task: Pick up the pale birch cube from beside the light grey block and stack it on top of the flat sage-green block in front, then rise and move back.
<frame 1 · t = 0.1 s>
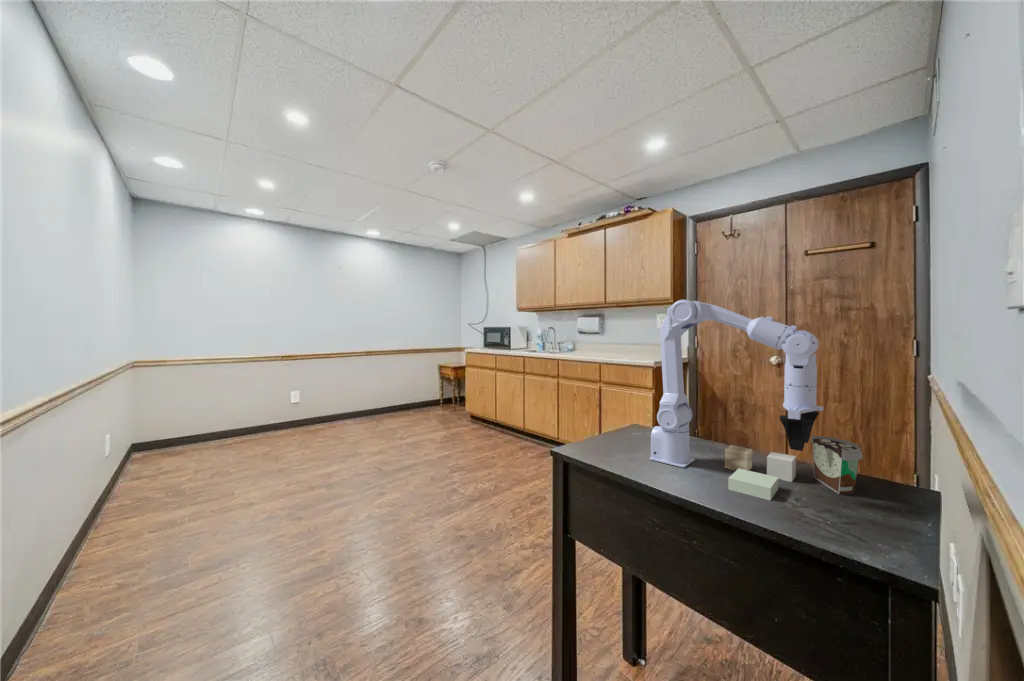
hand: (799, 445, 84), 10 cm above the table, tool pointing down, fingers open, 7 cm apart
sage block: (753, 490, 86), on the table
food container: (841, 487, 86), on the table
grey block: (781, 476, 93), on the table
birch cube: (738, 468, 98), on the table
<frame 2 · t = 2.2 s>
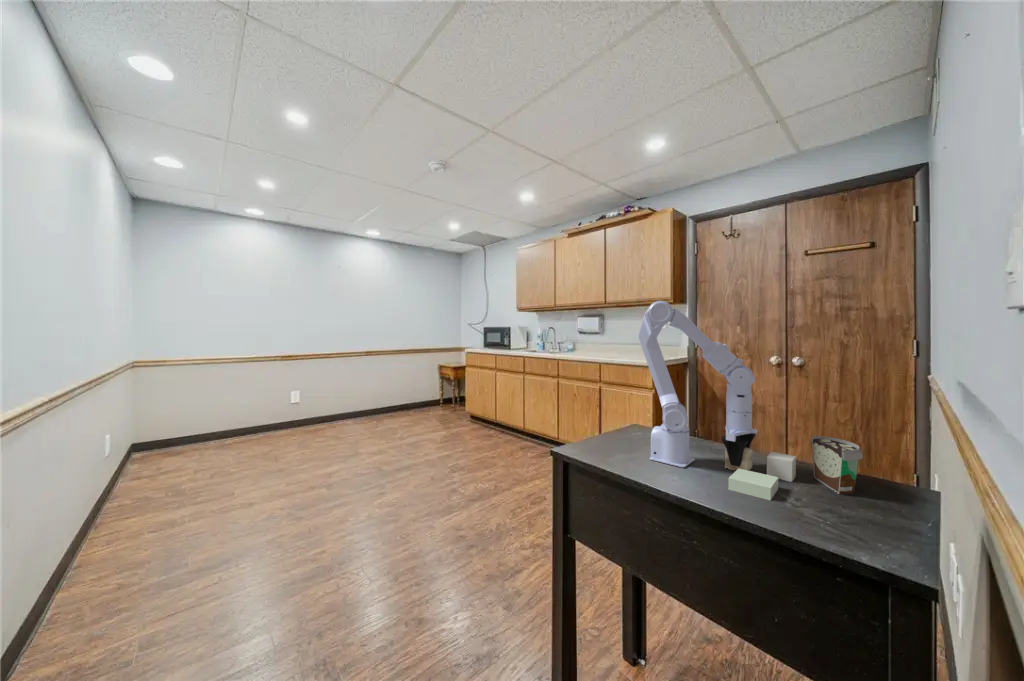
hand: (738, 462, 98), 1 cm above the table, tool pointing down, fingers closed on birch cube, 5 cm apart
birch cube: (738, 468, 98), on the table, touching gripper
everything else where it was.
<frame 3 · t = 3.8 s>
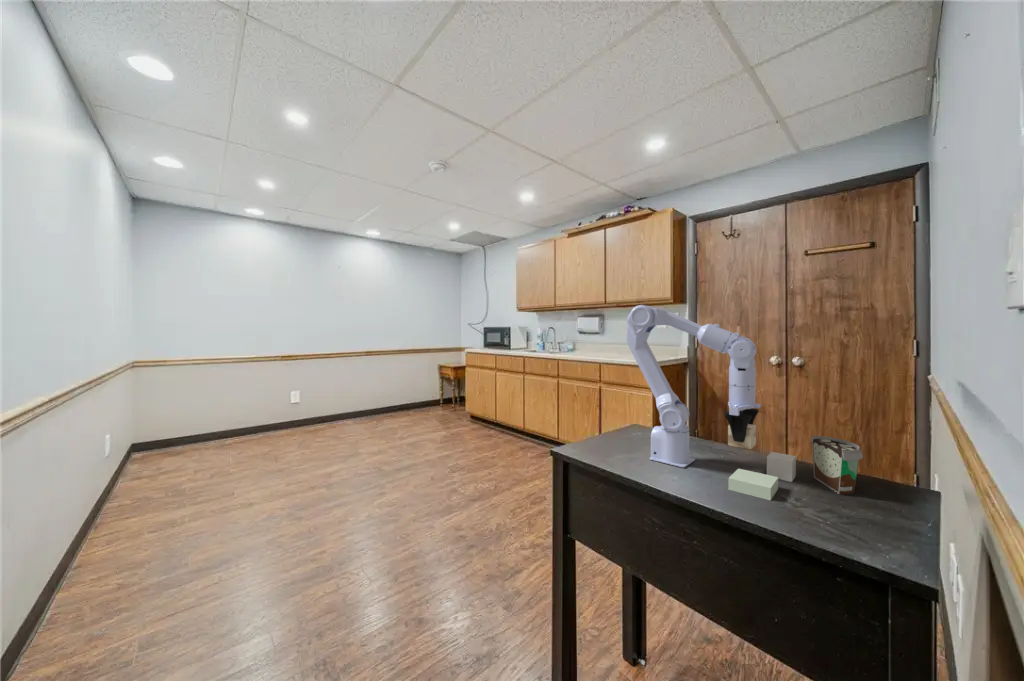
hand: (741, 439, 95), 8 cm above the table, tool pointing down, fingers closed on birch cube, 5 cm apart
birch cube: (742, 444, 95), point 7 cm above the table, touching gripper
everything else where it was.
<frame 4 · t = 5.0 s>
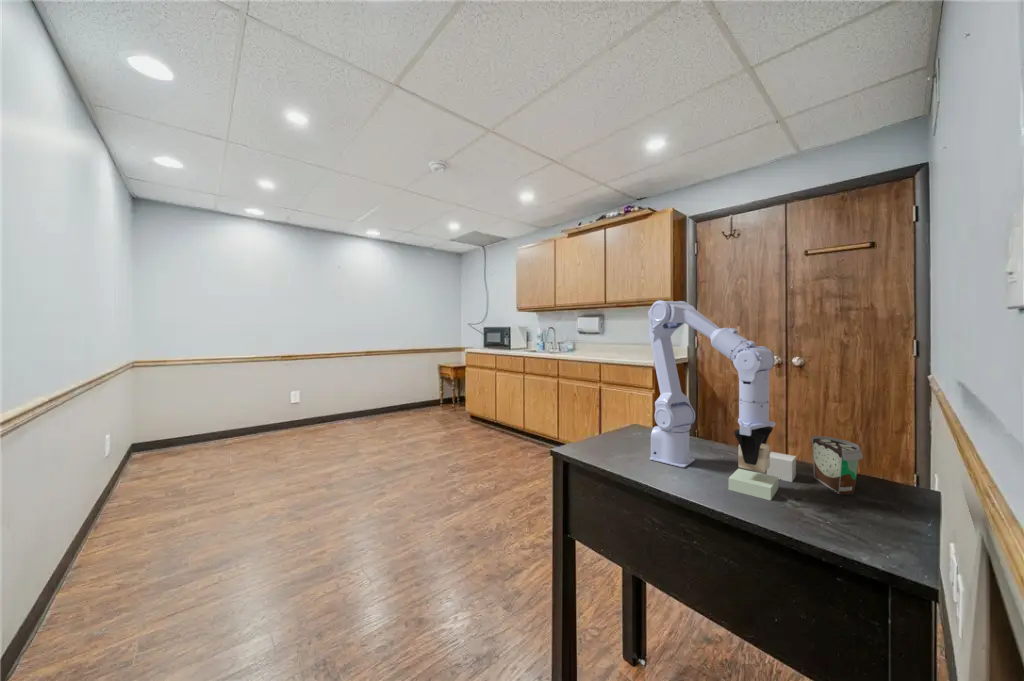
hand: (753, 460, 85), 6 cm above the table, tool pointing down, fingers closed on birch cube, 5 cm apart
birch cube: (754, 467, 85), point 5 cm above the table, touching gripper
everything else where it was.
when the fingers open (6 cm above the table, at t = 5.6 s): birch cube drops 2 cm, resting on sage block.
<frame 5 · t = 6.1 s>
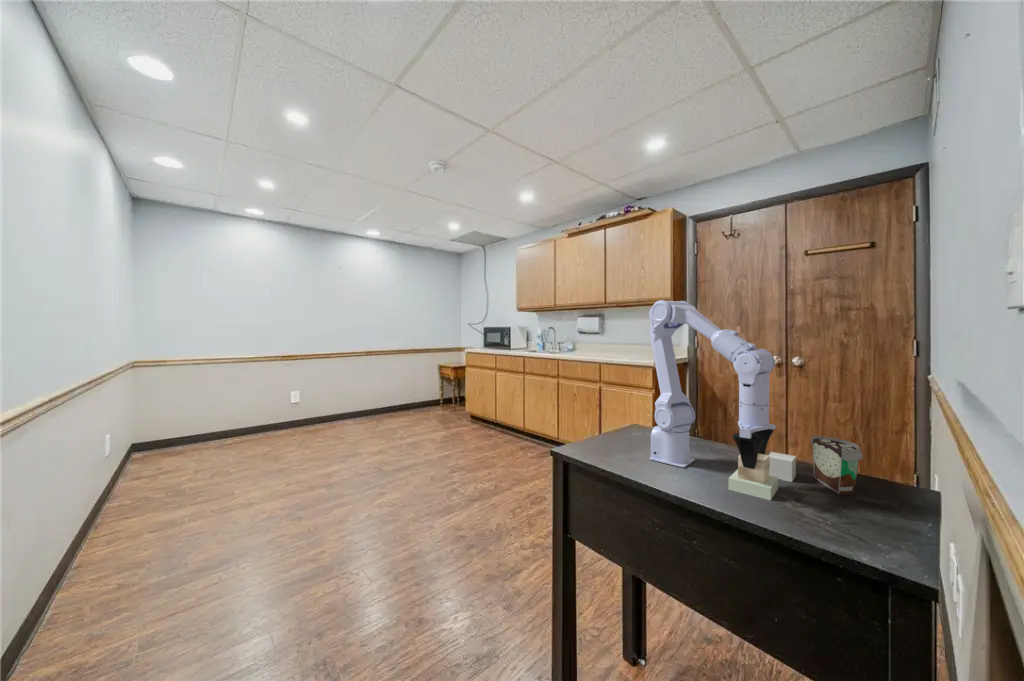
hand: (753, 463, 85), 6 cm above the table, tool pointing down, fingers open, 7 cm apart
sage block: (753, 490, 86), on the table, touching birch cube
birch cube: (753, 477, 86), point 3 cm above the table, touching sage block
everything else where it was.
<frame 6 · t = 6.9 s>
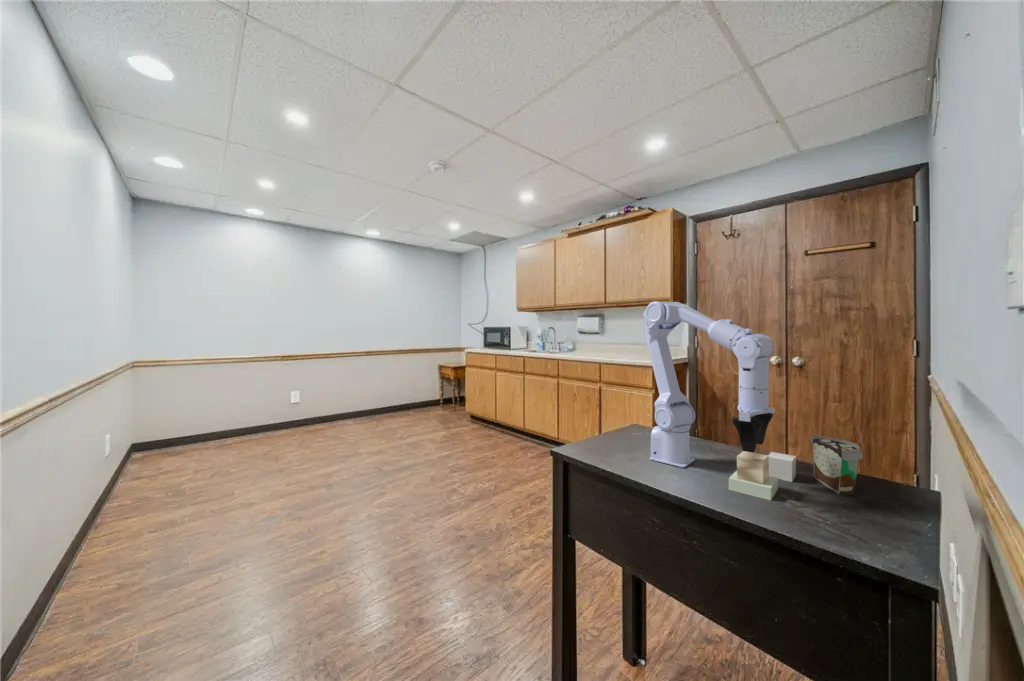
hand: (752, 447, 86), 9 cm above the table, tool pointing down, fingers open, 7 cm apart
sage block: (753, 490, 86), on the table
birch cube: (752, 477, 85), point 3 cm above the table
everything else where it was.
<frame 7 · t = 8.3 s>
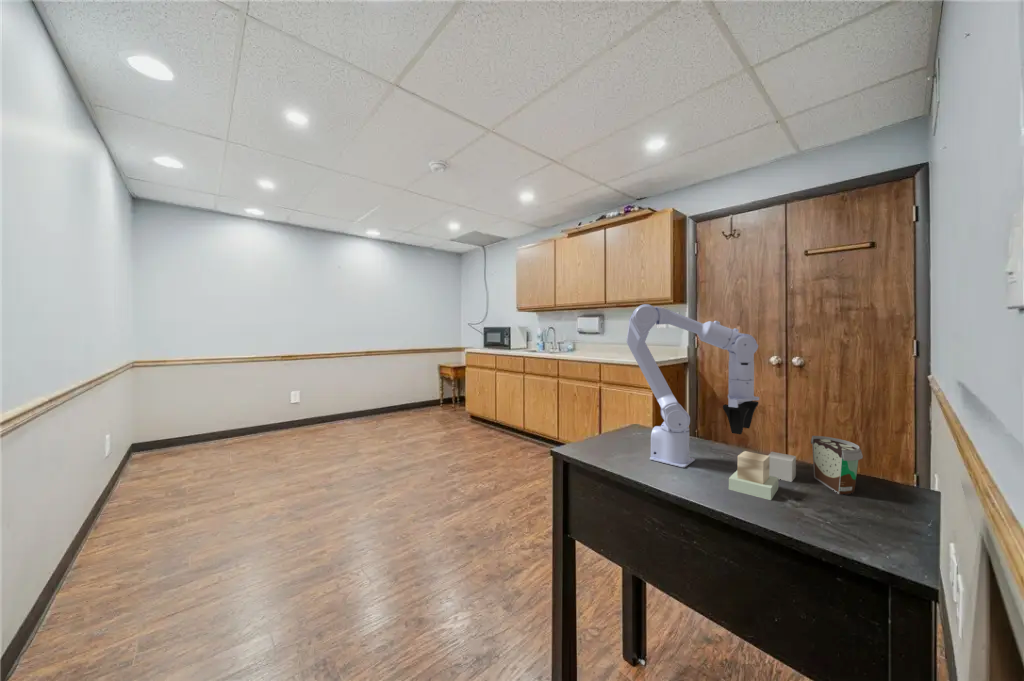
hand: (740, 430, 99), 9 cm above the table, tool pointing down, fingers open, 7 cm apart
nothing on the table moved.
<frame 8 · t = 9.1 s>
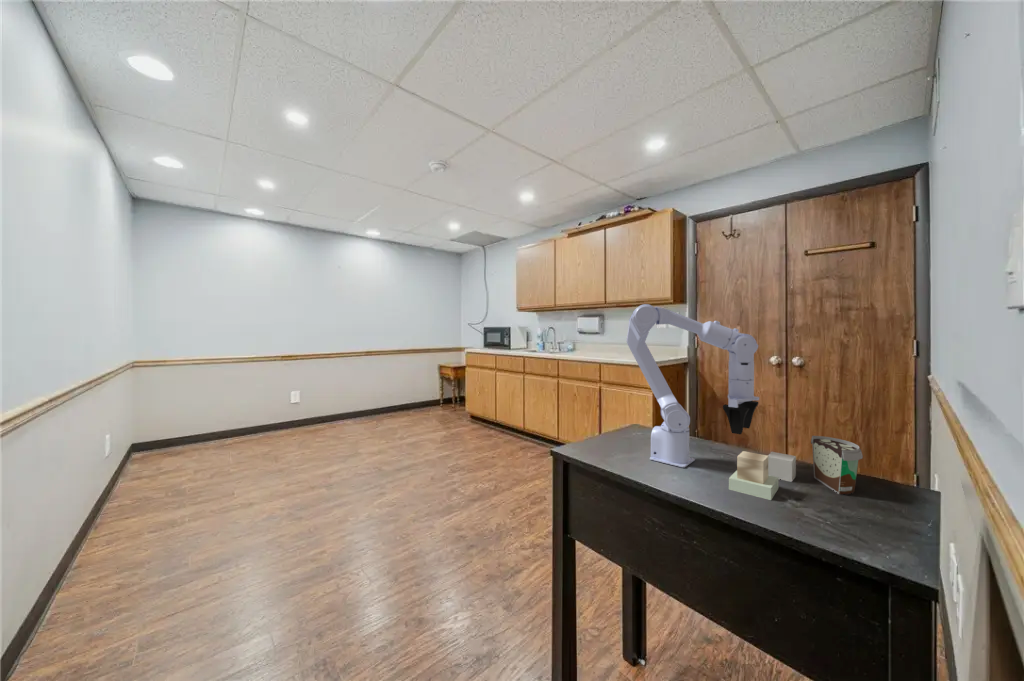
hand: (740, 430, 99), 9 cm above the table, tool pointing down, fingers open, 7 cm apart
sage block: (753, 490, 86), on the table, touching birch cube
birch cube: (752, 477, 85), point 3 cm above the table, touching sage block
everything else where it was.
at the end: birch cube 0.2 cm off-centre on the sage block, point 3.0 cm above the sage block's base; birch cube tilted 0°; the gripper is holding nothing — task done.
